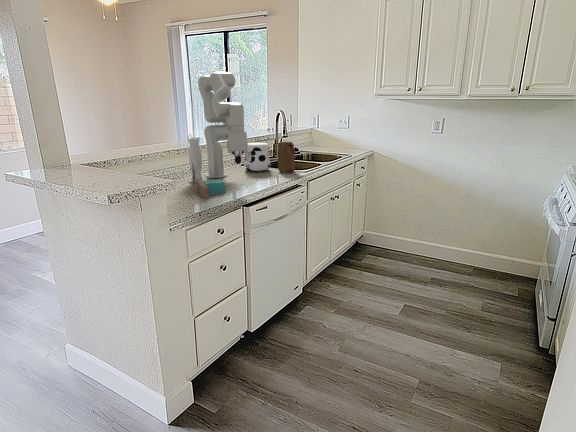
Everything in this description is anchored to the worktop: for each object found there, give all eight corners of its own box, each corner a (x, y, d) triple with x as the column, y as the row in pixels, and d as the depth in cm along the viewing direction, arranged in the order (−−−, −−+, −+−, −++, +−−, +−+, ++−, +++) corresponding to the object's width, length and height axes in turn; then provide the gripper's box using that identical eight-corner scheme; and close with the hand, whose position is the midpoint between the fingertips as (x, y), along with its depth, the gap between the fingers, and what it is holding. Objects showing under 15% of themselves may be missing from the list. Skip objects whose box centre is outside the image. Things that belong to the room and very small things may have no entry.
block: (276, 172, 251) (276, 142, 245) (281, 170, 258) (280, 140, 252) (292, 173, 248) (292, 142, 241) (296, 171, 254) (296, 141, 248)
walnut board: (196, 189, 209) (196, 179, 207) (202, 189, 210) (201, 178, 208) (202, 198, 191) (201, 187, 189) (208, 198, 192) (208, 186, 190)
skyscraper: (187, 182, 226) (183, 134, 217) (199, 180, 231) (196, 133, 222) (193, 184, 220) (189, 135, 211) (206, 182, 225) (202, 134, 216)
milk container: (271, 168, 265) (271, 142, 259) (268, 173, 249) (267, 145, 243) (247, 168, 267) (246, 142, 261) (242, 173, 250) (241, 145, 245)
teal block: (203, 191, 206) (203, 180, 204) (222, 189, 209) (221, 179, 207) (206, 195, 199) (205, 183, 197) (225, 193, 202) (224, 182, 200)
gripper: (224, 129, 191) (225, 165, 197) (252, 129, 196) (253, 164, 202) (221, 128, 198) (222, 163, 204) (249, 127, 203) (249, 161, 209)
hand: (238, 163), depth 203 cm, fingers closed
